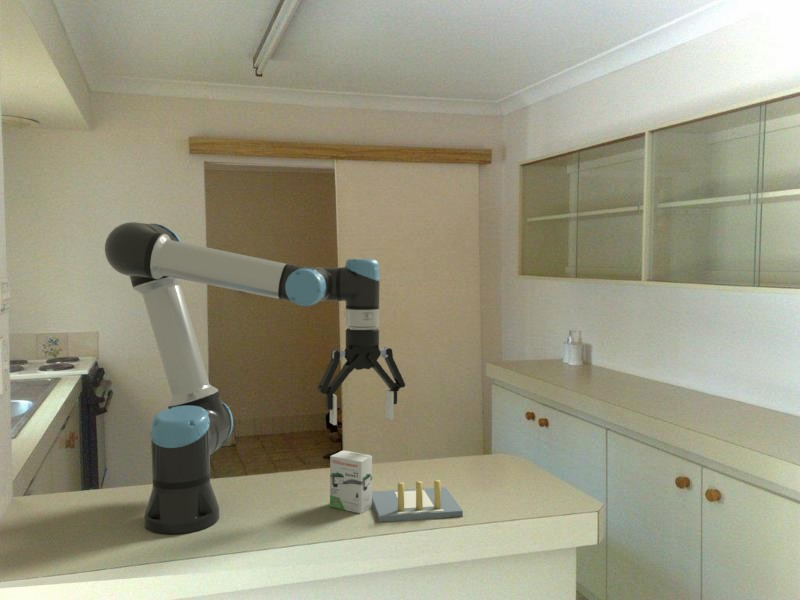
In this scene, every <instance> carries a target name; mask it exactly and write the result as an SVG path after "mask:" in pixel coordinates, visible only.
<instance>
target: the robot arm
mask: <svg viewBox="0 0 800 600" xmlns="http://www.w3.org/2000/svg"><path fill="white" fill-rule="evenodd" d="M104 254H105V258H106V259H107V262H108V264H109V266H111V268H112V269H114V271H116V272H118V273H119V274H121V275H125V276H128V277H129V279H130V282H131V286H132V289H133V290H134V291H135V292H138V293H139V294H141V295H142V297H143V298H142V299H143V302H144V305H145V309H146V311H147V315H148V319H149V321H150V322H149V323H150V325H151V328H152V332H153V335H154V339H155V343H156V346H157V348H158V352H159V355H160V359H161V363H162V366H163V369H164V374H165V376H166V380H167V384H168V386H169V390H170V393H171V396H170V399H169V401H168V403H167V408H165V409H163V410H161V411H159V412H157V413H156V414H155V415H154V416H153V418H152V420H151V425H150V426H151V428H150V445H151V448H150V449H151V468H152V473H151V474H152V475H151V476H152V488H151V491H150V494H149V495H150V497H149V498H148V503H147V505H146V509H145V512H144V527H145V529H147V530H149V531H151V532H154V533H158V534H165V535H171V534H172V535H174V534H175V535H176V534H185V533H193V532H196V531H200V530H204V529H207V528H209V527H211V526H213V525H214V524H216V523H218V521H219V520H220V505H219V503H218V500H217V497H216V495H215V492H214V489H213V486H212V483H211V464H210V461H211V460H210V459H211V457H210V456H211V455H213V454H214V453H215V452H216V451H217V450H219V449H220V448H222V447H223V445H225V444H226V442H227V440H228V439H229V437H230V436H231V433H232V430H233V428H234V417H233V414H232V411H231V409H230V407H228V405H227V404H226V402H225V403H224V402H223V401H222V399H221V394H220V391H219V389H218V388H217V387H215V386H213V385H212V384H210V382H209V378H208V375H207V371H206V368H205V364H204V361H203V357H202V354H201V350H200V348H199V344H198V339H197V336H196V332H195V330H194V329H195V328H194V327H193V323H192V320H191V316H190V312H189V309H188V306H187V303H186V298H185V295H184V292H183V289H182V283H183V281H188V282H189V281H190V282H193V283H198V284H203V285H208V286H213V287H218V288H224V289H228V290H233V291H239V292H244V293H247V294H248V293H249V294H253V295H258V296H264V297H267V298H274V299H279V300H282V301H286V302H291V303H292V304H293V303H294V304H295V305H296V306H297V305H298V306H301V307H312V306H314V305H316V304H318V303H320V302H335V301H336V302H345V326H346V327H347V328H346V329H345V349H344V351H343V350H336V349H333V350H332V351H331V356H330V361H329V363H328V365H327V367H326V369H325V371H324V373H323V376H322V378H321V379H320V381H319V384H318V386H317V392H319V393H321V394H324V395H325V408H326V409H327V410H328V411H329V423H330V424H332V425H333V426H337V425H338V396H337V395H336V394H335V393H336V392H337V390H338V389H339V387H341V386H342V384H343V382H344V381H345V380H346V379H347V377H348V376H349V375H350V374H351V372H353V371H354V369H355V370H357V371H358V370H360V371H361V370H363V369H364V370H370V369H373V370H374V372H375V373H377V375H378V376H379V378H381V379H382V381H383V382H384V384H385V385H386V386H387V387H388V388H389V389H386V390H385V418H386V419H388V420H390V421H392V420H394V407H395V406H394V405H397V404H398V392H399V391H400V389H402V388H405V386H406V382H405V380H404V379H403V376H402V374H401V372H400V370H399V367H398V365H397V363H396V361H395V359H394V355H393V349H392V348H390V347H388V346H386V347H385V346H384V347H383V348H380V347H379V346H380V330H379V329H378V328H377V327H379V326H380V282H381V281H380V279H381V278H380V263H379V262H378V261H377V260H376V259H375V258H374V259H373V258H371V259H370V258H348V259H346V261H345V265H344V266H343V267H321V266H320V267H316V266H315V267H313V266H300V265H294V264H288V263H284V262H280V261H274V260H269V259H264V258H261V257H256V256H250V255H244V254H241V253H236V252H230V251H226V250H221V249H216V248H211V247H206V246H202V245H196V244H192V243H187V242H182V239H181V238H180V237H179V235H178V234H177V233H176V232H175V231H173V229H170V228H168V227H166V226H165V225H161V224H157V223H144V222H143V223H142V222H136V221H133V222H131V221H130V222H125V223H122V224H119V225H118V226H116V227H114V228H113V229H112V231H111V232H110V233H109V234H108V235H107V238H106V239H105V243H104ZM380 357H382V358H384V361H385V363H386V364H387V367H388V370H389V371H390V373H391V375H392V378H393V379H392V378H391V377H390V375H389V374H388V373H387V372H386V371H385V369H384V368H383V367H382V365H381V364H380V362H379V361H378V360H379V358H380ZM343 358H344V359H345V360H346V362H344V364H343V366H342V368H341V369H340V370H339V371H338V373H337V375H336V376H335V372H336V370H337V368H338V366H339V363H340V361H342V359H343ZM334 376H335V377H334ZM333 377H334V378H333Z"/></svg>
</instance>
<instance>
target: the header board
mask: <svg viewBox="0 0 800 600" xmlns="http://www.w3.org/2000/svg"><path fill="white" fill-rule="evenodd" d="M441 483H442V482H441V480H439V479H435V480H433V487H426V488H425V487H424V488H423V481H422V480H418V481H415V488H409V489H408V488H407V489H405V482H402V481H399V482H397V489H391V490H390V489H389V490H378V491H377V490H376V491H373V490H372V507H373V508H374V511H375V513H377V514H376V517H377V518H378V522H379V523H382V522H383V521H385V522H395V521H396V522H397V521H410V520H411V521H413V520H414V521H415V520H426V519H427V520H428V519H429V520H430V519H441V518H443V519H444V518H457V517H458V518H461V517H463V516H464V514H463V513H464V511H463V509H462V508H461V506H460V505H459V504H458V502H457V501H456V499H455V498H454V496H453V495H452V494H451V493H450V491H449V489H448V488H447V487H446V486H442V485H441Z"/></svg>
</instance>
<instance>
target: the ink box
mask: <svg viewBox="0 0 800 600" xmlns="http://www.w3.org/2000/svg"><path fill="white" fill-rule="evenodd" d="M329 457H330V458H329V469H330V471H329V474H330V475H329V507H330V508H334V509H337V510H338V509H339V510H344V511H348V512H350V513H352V512H353V513H356V514H362V513H364V512H366V511H369V509H372V507H373V503H372V491H373V456H372V455H371V454H365V453H360V452H355V451H349V450H340V451H339V452H337V453H334V454H332V455H330V456H329Z"/></svg>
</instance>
